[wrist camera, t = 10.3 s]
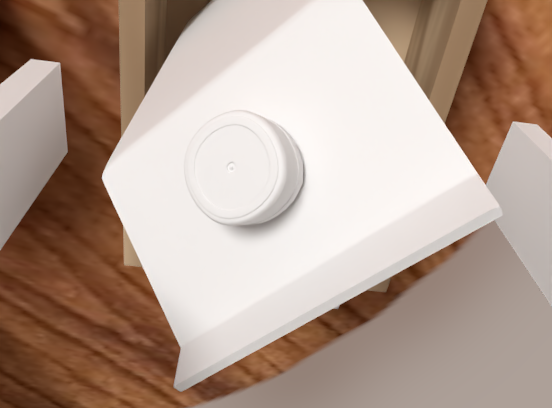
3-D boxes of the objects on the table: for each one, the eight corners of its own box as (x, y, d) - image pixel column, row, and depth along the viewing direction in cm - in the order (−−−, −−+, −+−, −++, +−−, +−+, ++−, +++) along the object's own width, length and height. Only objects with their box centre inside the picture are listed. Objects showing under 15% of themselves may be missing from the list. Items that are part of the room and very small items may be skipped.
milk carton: (388, 47, 26) (583, 334, 10) (276, 128, 28) (282, 467, 12) (304, -81, 23) (384, 26, 7) (186, 21, 25) (31, 286, 9)
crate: (147, 202, 32) (124, 265, 27) (151, -147, 22) (115, -153, 17) (368, 228, 33) (386, 292, 28) (463, -93, 23) (516, -84, 18)
